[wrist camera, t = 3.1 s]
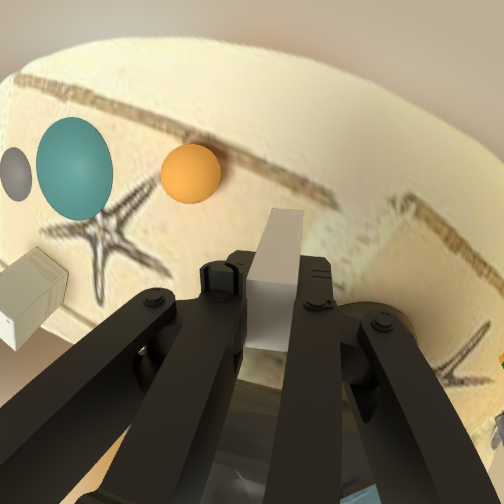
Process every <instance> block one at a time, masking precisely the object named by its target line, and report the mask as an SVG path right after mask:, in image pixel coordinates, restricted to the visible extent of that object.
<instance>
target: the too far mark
mask: <svg viewBox="0 0 504 504" xmlns="http://www.w3.org/2000/svg"><path fill="white" fill-rule="evenodd" d="M0 178H1V182H2V185H3V188H4V190H5V192H6V193H7V195H8V196H9V197H10V198H11V199H13V200H14V201H23V200H24V199H26V198H27V196H28V195H29V192H30V189H31V182H32V177H31V170H30V166H29V163H28V160H27V158H26V157H25V155H24V154H23V153H22V151H20V150H19V149H17V148H10V149H8V150H6V151H5V153H4V154H3V156H2V158H1V162H0Z"/></svg>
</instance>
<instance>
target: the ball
mask: <svg viewBox="0 0 504 504" xmlns="http://www.w3.org/2000/svg"><path fill="white" fill-rule="evenodd" d="M220 178H221V169H220V165H219V162H218V160H217V158H216V157H215V155H214V154H213V153H212V152H211V151H210V150H208V149H207V148H205V147H203V146H200V145H195V144H187V145H183V146H180V147H178V148H176V149H174V150H173V151H172V152H170V153H169V155H168V156H167V157H166V158H165V160H164V162H163V165H162V168H161V182H162V185H163V187H164V189H165V191H166V192H167V194H168V195H169V196H170V197H171V198H173V199H174V200H176V201H178V202H181V203H184V204H196V203H199V202H202V201H204V200H206V199H208V198H209V197H210V196H211V195H212V194H213V193H214V192H215V190H216V189H217V187H218V185H219V182H220Z"/></svg>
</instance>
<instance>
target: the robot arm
mask: <svg viewBox="0 0 504 504" xmlns="http://www.w3.org/2000/svg"><path fill="white" fill-rule="evenodd" d="M303 213H304V211H301V210H289V209H277V208H272V210H271V213H270V216H269V218H268V221H267V224H266V227H265V229H264V232H263V235H262V238H261V240H260V243H259V246H258V248H257V251H256V252H251V251H241V250H236V251H235V252H233V253H232V254H230V255H229V256H228V258H227V260H226V261H213V262H209V263H207V264H205V265H203V266H202V267H201V268H200V281H201V293H200V295H199V297H198V298H195V299H189V300H175V295H174V294H173V292H172V291H170V290H168V289H165V288H150V289H146V290H144V291H142V292H140V293H138V294H137V295H136V296H135V297H133V298H132V299H131V300H129V301H128V302H127V303H126V304H124V305H123V306H122V307H121V308H119V309H118V310H117V311H116V312H114V313H113V314H112V315H111V316H109V317H108V318H107V319H106V320H104V321H103V322H102V323H101V324H99V325H98V326H97V327H96V328H94V329H93V330H92V331H91V332H89V333H88V334H87V335H86V336H84V337H83V338H82V339H81V340H80V341H78V342H77V343H76V344H75V345H73V346H72V347H71V348H70V349H69V350H67V351H66V352H65V353H64V354H63V355H61V356H60V357H59V358H58V359H57V360H55V361H54V362H53V363H52V364H51V365H49V366H48V367H47V368H46V369H45V370H44V371H42V372H41V373H40V374H39V375H38V376H36V377H35V378H34V379H33V380H32V381H31V382H30V383H28V384H27V385H26V386H25V387H24V388H23V389H21V390H20V391H19V392H18V393H17V394H16V395H14V396H13V397H12V398H11V399H10V400H9V401H8V402H6V403H5V404H4V405H3V406H2V407H1V408H0V504H59V503H60V502H61V501H62V500H63V499H64V498H65V497H66V496H67V495H68V493H69V492H70V491H71V490H72V489H73V488H74V487H75V486H76V485H77V484H78V483H79V482H80V480H81V479H82V478H83V477H84V476H85V475H86V474H87V473H88V472H89V471H90V469H91V468H92V467H93V466H94V465H95V464H96V463H97V462H98V460H99V459H100V458H101V457H102V456H103V455H104V454H105V453H106V452H107V451H108V449H109V448H110V447H111V446H112V445H113V444H114V443H115V441H116V440H117V439H118V438H119V437H120V436H121V435H122V434H123V433H124V431H125V430H126V429H127V428H128V429H127V431H126V434H125V436H124V439H123V441H122V443H121V445H120V447H119V449H118V451H117V453H116V455H115V457H114V459H113V461H112V463H111V465H110V467H109V469H108V471H107V473H106V475H105V477H104V479H103V481H102V483H101V485H100V486H99V488H98V489H97V490H95V491H94V492H90V493H86V494H83V495H82V496H81V497H80V498H78V500H77V501H76V502H75V504H501V503H500V500H499V498H498V496H497V493H496V491H495V489H494V486H493V484H492V482H491V480H490V478H489V475H488V473H487V471H486V469H485V467H484V465H483V463H482V461H481V459H480V457H479V455H478V453H477V450H476V448H475V446H474V445H473V443H472V441H471V439H470V437H469V435H468V433H467V431H466V429H465V427H464V425H463V423H462V422H461V420H460V418H459V416H458V414H457V412H456V410H455V409H454V407H453V405H452V403H451V402H450V400H449V398H448V396H447V394H446V393H445V391H444V389H443V387H442V386H441V384H440V382H439V381H438V379H437V377H436V376H435V374H434V372H433V371H432V369H431V367H430V366H429V364H428V362H427V361H426V359H425V357H424V356H423V354H422V352H421V351H420V349H419V348H418V341H417V338H416V335H415V332H414V329H413V326H412V324H411V323H410V321H409V320H408V319H407V317H406V316H404V315H403V314H402V313H401V312H399V311H398V310H396V309H394V308H392V307H390V306H387V305H383V304H378V303H367V302H366V303H353V304H348V305H344V306H341V307H338V306H337V304H336V301H335V300H333V288H332V276H331V264H330V263H329V262H328V261H327V260H326V258H324V257H314V256H303V255H300V250H301V238H302V226H303ZM245 338H246V347H249V348H257V349H265V350H273V351H282V352H287V360H286V367H285V374H284V381H283V387H282V390H279V389H275V388H271V387H267V386H263V385H259V384H255V383H251V382H248V381H244V380H240V379H237V377H238V374H239V370H240V366H241V363H242V359H243V345H244V342H245ZM143 347H144V349H143V350H142V351H141V352H139V351H140V350H141V349H142V348H143ZM138 352H139V353H138Z"/></svg>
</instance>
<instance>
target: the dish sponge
mask: <svg viewBox="0 0 504 504" xmlns="http://www.w3.org/2000/svg"><path fill="white" fill-rule="evenodd" d="M499 361H500V363H501V365H502V367H503V368H504V353H503V354H502V355H501V356H499Z"/></svg>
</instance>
